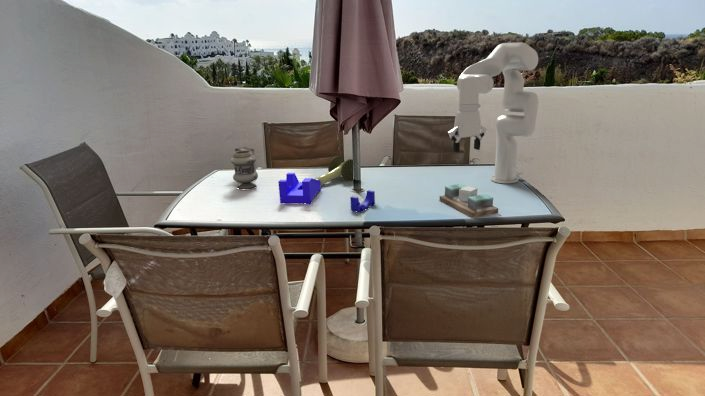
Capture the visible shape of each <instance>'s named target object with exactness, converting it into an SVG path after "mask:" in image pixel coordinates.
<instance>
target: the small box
mask: <svg viewBox="0 0 705 396" xmlns="http://www.w3.org/2000/svg"><path fill="white" fill-rule="evenodd" d="M471 196H478V188H477V187H474V186H473V187H472V186H467V185H465V187H463V188H461V189H459V201H465V202H468V197H471Z"/></svg>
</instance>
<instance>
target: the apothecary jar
mask: <svg viewBox="0 0 705 396" xmlns="http://www.w3.org/2000/svg"><path fill="white" fill-rule="evenodd" d="M254 155H255V154H254ZM254 155H252V152H251V151H250V150H241V151H236V152H235V151H234V152H233V156H232V158H231V160H230V162H231V164H232V165H233V166H234V174H233V175H232V178H233V180H234V181H235V182H236V183H239V185H237V186H236V189H237V188H239V189H250V190H253V189H252V188H254V189H256V188H257V184H256V183H252V182H254V181H256V180H257V179H258V177H259V173H258V172H257V170H256V171H255V169H254V162H255V163H256V161H257V159H256V156H254ZM255 187H256V188H255Z"/></svg>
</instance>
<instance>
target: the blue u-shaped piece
mask: <svg viewBox="0 0 705 396" xmlns="http://www.w3.org/2000/svg"><path fill="white" fill-rule="evenodd" d="M375 196H376V195H375V190H370V189H368V190H366V195H365V198H364V200H363V201H362V202H360V199H359V197H358V196H354V195H352V196H350V211H351V210H353V211H352V212H355V211H357V212H356V213H359V212H360V213H362V212H364V211H366V210H365V209H367V210H369V209H370V207H371V206H375V205H374V204H376V197H375ZM369 206H370V207H369ZM368 208H369V209H368ZM363 210H364V211H363ZM361 211H362V212H361Z"/></svg>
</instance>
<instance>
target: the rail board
mask: <svg viewBox="0 0 705 396" xmlns="http://www.w3.org/2000/svg"><path fill="white" fill-rule="evenodd" d="M465 186H466V185H465V184H463V183H458V184H452V185H445V186H444V194H443V195H439V201H440V202H441V203H443V204H445V205H447V206H448V207H451V208H453V209H455V210H457V211H459V212H460V213H462V214H463V215H465V216H467V217H470V218H471V219H473V218H478V217H484V216H489V215H495V214H496V215H497V214H498V213H499V208H498V207H496V206H494V197H492V196H490V195H489V194H479V195H478V194H477V196H471V197H468V202H465V201H459V189H461V188H463V187H465Z"/></svg>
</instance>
